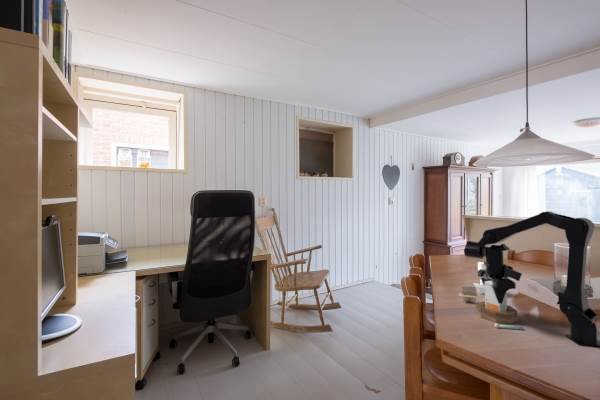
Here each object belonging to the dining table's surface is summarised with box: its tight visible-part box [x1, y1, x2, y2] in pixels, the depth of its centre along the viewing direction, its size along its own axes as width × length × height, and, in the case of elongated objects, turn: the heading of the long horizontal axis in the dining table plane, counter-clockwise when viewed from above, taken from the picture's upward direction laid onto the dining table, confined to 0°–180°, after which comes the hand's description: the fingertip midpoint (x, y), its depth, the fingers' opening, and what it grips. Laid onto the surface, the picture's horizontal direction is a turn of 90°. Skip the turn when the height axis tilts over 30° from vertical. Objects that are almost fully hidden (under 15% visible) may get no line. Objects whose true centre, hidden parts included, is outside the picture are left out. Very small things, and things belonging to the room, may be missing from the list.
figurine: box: [473, 261, 486, 295], centre depth 139 cm, size 7×9×15 cm
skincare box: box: [484, 280, 508, 312], centre depth 111 cm, size 6×4×12 cm
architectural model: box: [458, 285, 478, 304], centre depth 127 cm, size 3×7×7 cm, turn 67°
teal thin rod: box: [494, 323, 525, 330], centre depth 100 cm, size 9×1×1 cm, turn 77°
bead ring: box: [475, 301, 519, 324], centre depth 111 cm, size 12×12×4 cm
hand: (495, 300), depth 111 cm, fingers closed on skincare box, 7 cm apart
